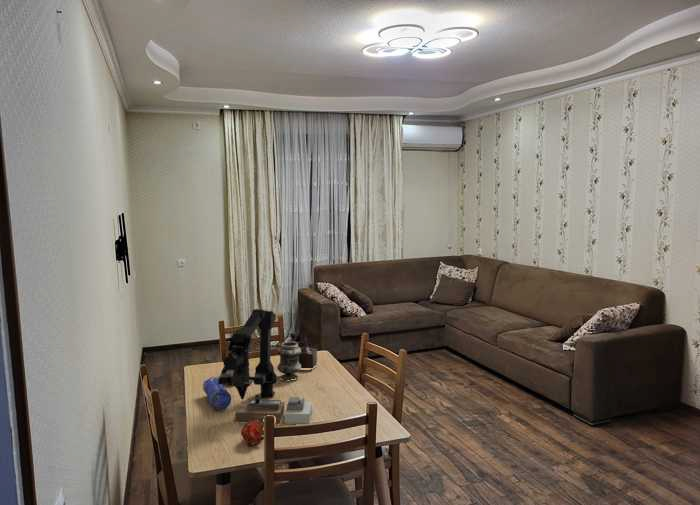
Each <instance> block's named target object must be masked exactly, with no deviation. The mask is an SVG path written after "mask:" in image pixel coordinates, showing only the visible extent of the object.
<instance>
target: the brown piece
mask: <svg viewBox="0 0 700 505" xmlns="http://www.w3.org/2000/svg"><path fill="white" fill-rule="evenodd" d="M289 337H290V339H291V342H296V343H298V344H303V343H304V346H303V347H299V348H300V349H301V353H300V354H299V363H300V364H301V368H313V367H314V366H315V365H316V363H317V364H318V348H314V347H310V346H309V345H308V344H307V342H308V338H307V337H304V339H303V340H302V341H297V332H293V331H292V332H290V334H289Z"/></svg>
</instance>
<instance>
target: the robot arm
mask: <svg viewBox="0 0 700 505" xmlns="http://www.w3.org/2000/svg"><path fill="white" fill-rule="evenodd" d="M276 316H277V315H276V313H275V312H274V311H273V310H265V309H263V308H262V309H261V308H259V309H258V308H255V309H253V310H251V314H250V315H249V317H248V318H247V320H246V321H245V323H244V325H243V326H242V327H241V328H238V329H236V331H235V332H234V333H233V334H232V335H231V338H230V341H229V345H228V348H227V351H228V353H227V356H226V357H224V360H223V367H224V366H225V368H226V369H228V370H233V369H234V373H233V376H231V374H222V375H221V374H220V376H219V377H217V378H218V384H222V385H227V384H228V383H227V382H228V381H232V384H231V385H232V387H234V388H236V391H237V393H238V394H239V397H240V399H241V400H244V399H245V396H246V393H247V390H248V387H250V386H251V385H252V383H254V385H256V386H258V385H259V386H260V393H259V394H261V398H271V399H272V398H273V397H274V396H275V393H276V392H275V391H274V385H276V384H277V381H278V376H277V374H276V372H275V369H274V368H275V366H274V364H273V363H272V362H271V350H272V348H271V343H272V329H273V327H274V326H275V325H276V324H275V323H276V319H277V317H276ZM257 327H258V329H259V330H260V332H259V337H260V339H259V362H258V364H257V366H255V371H254V376H250V356H249V355H250V354H249V350H250V349H251V347H250V346H251V345H252V343H253V342H252V341H253V334H254V332H255V331H256V329H257Z"/></svg>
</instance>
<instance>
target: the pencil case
mask: <svg viewBox="0 0 700 505" xmlns="http://www.w3.org/2000/svg"><path fill="white" fill-rule="evenodd" d="M218 378H219V377H215V376H212V377H210V378H207V379H206V380H204V381H203V383H202V390H203V391H204V393H205V394H206V396H207V398H208V400H209V402H210V404H211V406H212V408H213V409H214V410H215V411H218V412H219V411H224V410H226V409H227V408H229V407H230V406H231V402H232V395H231V393H230V392H229V391H228V390H227V388H226V387H225V386H223V384H218Z"/></svg>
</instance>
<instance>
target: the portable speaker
mask: <svg viewBox="0 0 700 505" xmlns="http://www.w3.org/2000/svg"><path fill="white" fill-rule="evenodd" d="M233 373H234V369H233V370H228V369H226V368H225V366H224V365H223V368H222V369H221V372H220V376H221V375H222V374H231V376H233ZM226 384H228V385H232V381H228V382H227V383H226Z"/></svg>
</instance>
